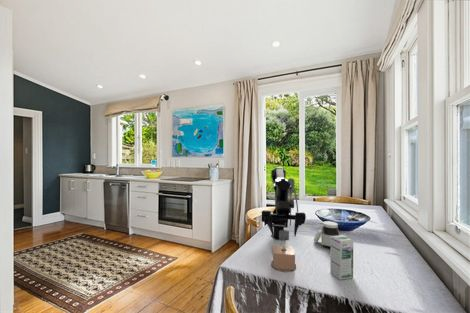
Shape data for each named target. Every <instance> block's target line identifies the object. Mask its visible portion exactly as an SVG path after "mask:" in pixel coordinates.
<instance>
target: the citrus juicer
mask: <svg viewBox="0 0 470 313" xmlns="http://www.w3.org/2000/svg"><path fill="white" fill-rule="evenodd" d="M287 181H288V182H289V183H290V186H291V189H290V191H289V200H292V194H294V198H295V206H296V212H299V204H298V197H297V193H296V188H295V184H296V183H295V180H294V178H291V177H289V178H288V179H287ZM289 215H292V208H290V213H289ZM289 226H292V220H289Z"/></svg>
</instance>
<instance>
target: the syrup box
mask: <svg viewBox="0 0 470 313" xmlns="http://www.w3.org/2000/svg"><path fill="white" fill-rule="evenodd" d="M329 264H330V266H329V267H330V271H329V272H330V274H332V275H333V276H334V277H336V278H337V279H338V280H340V281H342V280H349V279H353V278H354V239H352V238H351V237H349V236H347V235H344V234H341V235H340V234H339V236H331V249H330V262H329Z"/></svg>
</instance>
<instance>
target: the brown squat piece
mask: <svg viewBox="0 0 470 313" xmlns="http://www.w3.org/2000/svg"><path fill="white" fill-rule="evenodd" d="M272 256H273V258H272V260H271V262H270V263H271V266H270V267H272V269H275V270H276V271H279V272H286V273H288V272H294V271H296V269H297V264H296V253H295V250H294V247H293V246H286V245H285V251H282V245H273V255H272Z"/></svg>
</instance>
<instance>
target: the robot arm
mask: <svg viewBox="0 0 470 313" xmlns="http://www.w3.org/2000/svg"><path fill="white" fill-rule="evenodd" d="M286 175H287V172H286V170H285V168H284V167H277V166H276V167H274V168H273V169H272V170H271V171H270V179H272V180H271V182H272V184H273V191H274V209H273V211H272V213H271V210H262V211H261V222H262V223H264V224H265V225H267V226H268V229H269V231H270V236H271V237H272V238H273V239H274V240H275V241H276V240H277V241H279V240H280V239H279V231H280V230H285V228H286V229H287V228H288V227H289V226H288V225H289V221H290V220H291V221H292V220H293V221H294V226H293V227H294V230H293V231H294V232H293V234H294V237H296V236H297V232H298V229H299V227H300V226H302V225H304V224H305V222H306V219H307V218H306V217H307V216H306V213H305V212H304V211H302V212H301V211H298V212H297V211H295V214H291V215H290V208H291V209H295V200H293V199H291V200H290V199H289V197H290V194H289V191H290V189H291V186H290V183H289V182H288V179H286V177H287V176H286Z"/></svg>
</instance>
